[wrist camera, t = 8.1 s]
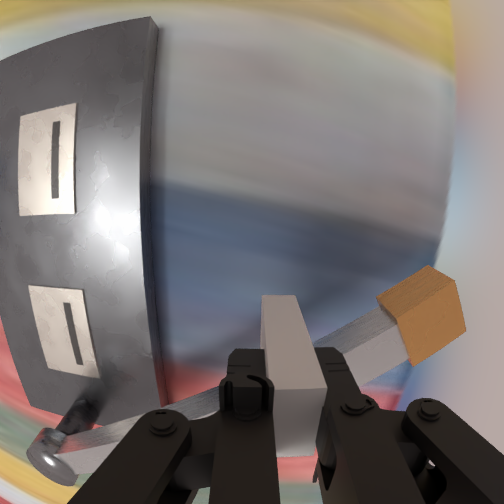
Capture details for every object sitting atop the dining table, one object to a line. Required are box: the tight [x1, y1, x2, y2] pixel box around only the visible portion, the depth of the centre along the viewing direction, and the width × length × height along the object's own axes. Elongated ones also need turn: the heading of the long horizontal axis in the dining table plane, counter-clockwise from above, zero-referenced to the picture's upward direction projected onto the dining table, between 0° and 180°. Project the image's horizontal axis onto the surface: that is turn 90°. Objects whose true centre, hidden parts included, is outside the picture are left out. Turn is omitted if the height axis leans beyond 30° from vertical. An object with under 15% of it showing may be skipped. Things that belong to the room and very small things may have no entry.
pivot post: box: [55, 399, 99, 436], centre depth 20 cm, size 4×4×6 cm
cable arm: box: [26, 265, 466, 486], centre depth 14 cm, size 28×4×2 cm, turn 119°
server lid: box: [0, 16, 169, 426], centre depth 19 cm, size 30×14×2 cm, turn 179°
